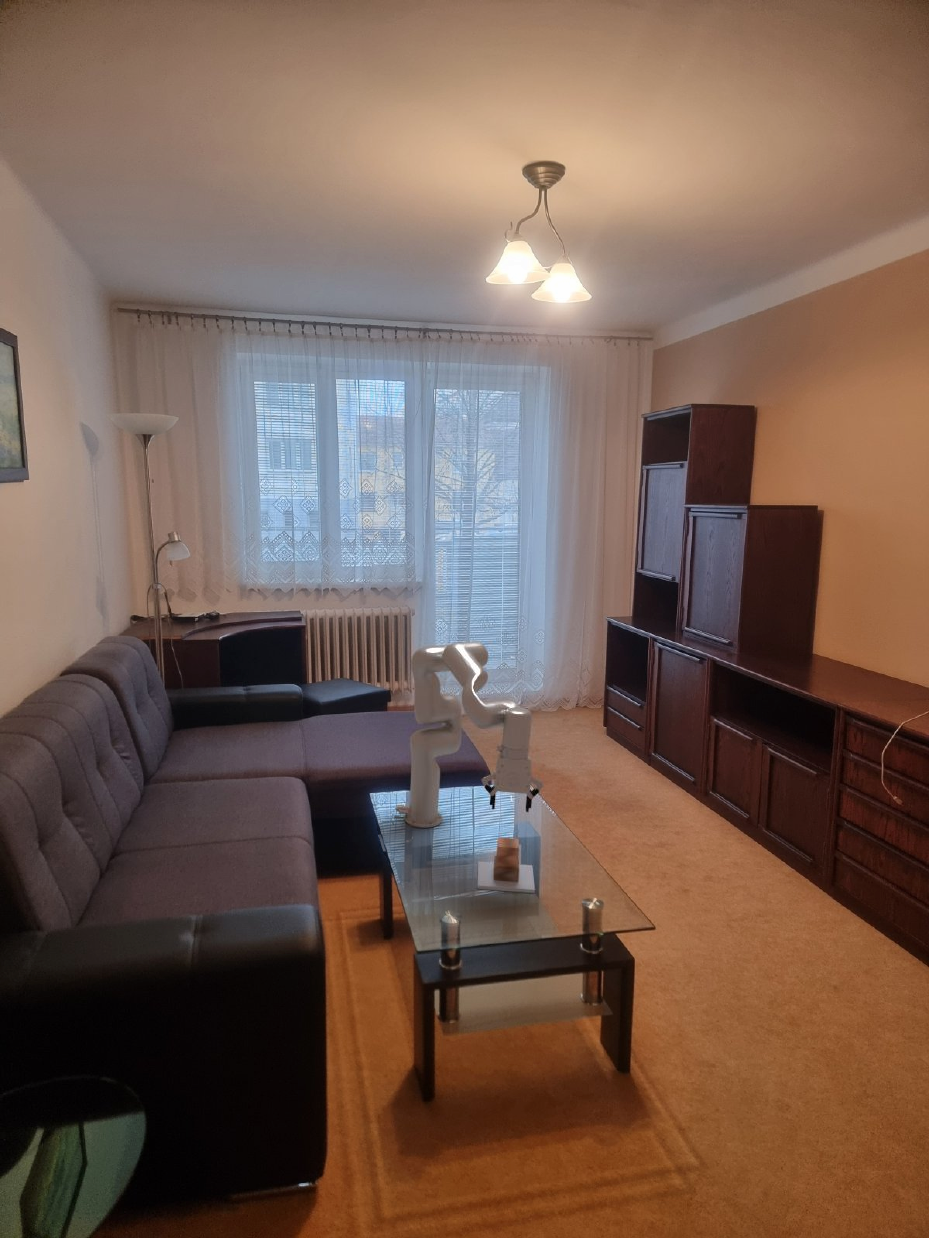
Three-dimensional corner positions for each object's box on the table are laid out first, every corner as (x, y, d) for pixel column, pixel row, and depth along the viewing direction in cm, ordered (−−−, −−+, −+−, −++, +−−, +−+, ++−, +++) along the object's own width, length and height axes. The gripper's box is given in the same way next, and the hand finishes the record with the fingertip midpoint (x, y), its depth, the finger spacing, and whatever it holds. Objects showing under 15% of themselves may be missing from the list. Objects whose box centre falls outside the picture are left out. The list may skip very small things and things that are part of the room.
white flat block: (477, 888, 213) (478, 872, 212) (478, 864, 227) (479, 848, 226) (534, 892, 212) (535, 876, 211) (532, 868, 226) (533, 852, 225)
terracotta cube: (496, 866, 216) (497, 846, 215) (496, 856, 222) (497, 837, 221) (517, 868, 216) (519, 848, 214) (516, 857, 221) (518, 838, 220)
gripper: (484, 753, 209) (479, 811, 213) (546, 758, 209) (541, 817, 212) (484, 744, 217) (479, 800, 220) (545, 749, 216) (539, 805, 220)
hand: (510, 808), depth 216 cm, fingers open, 9 cm apart
